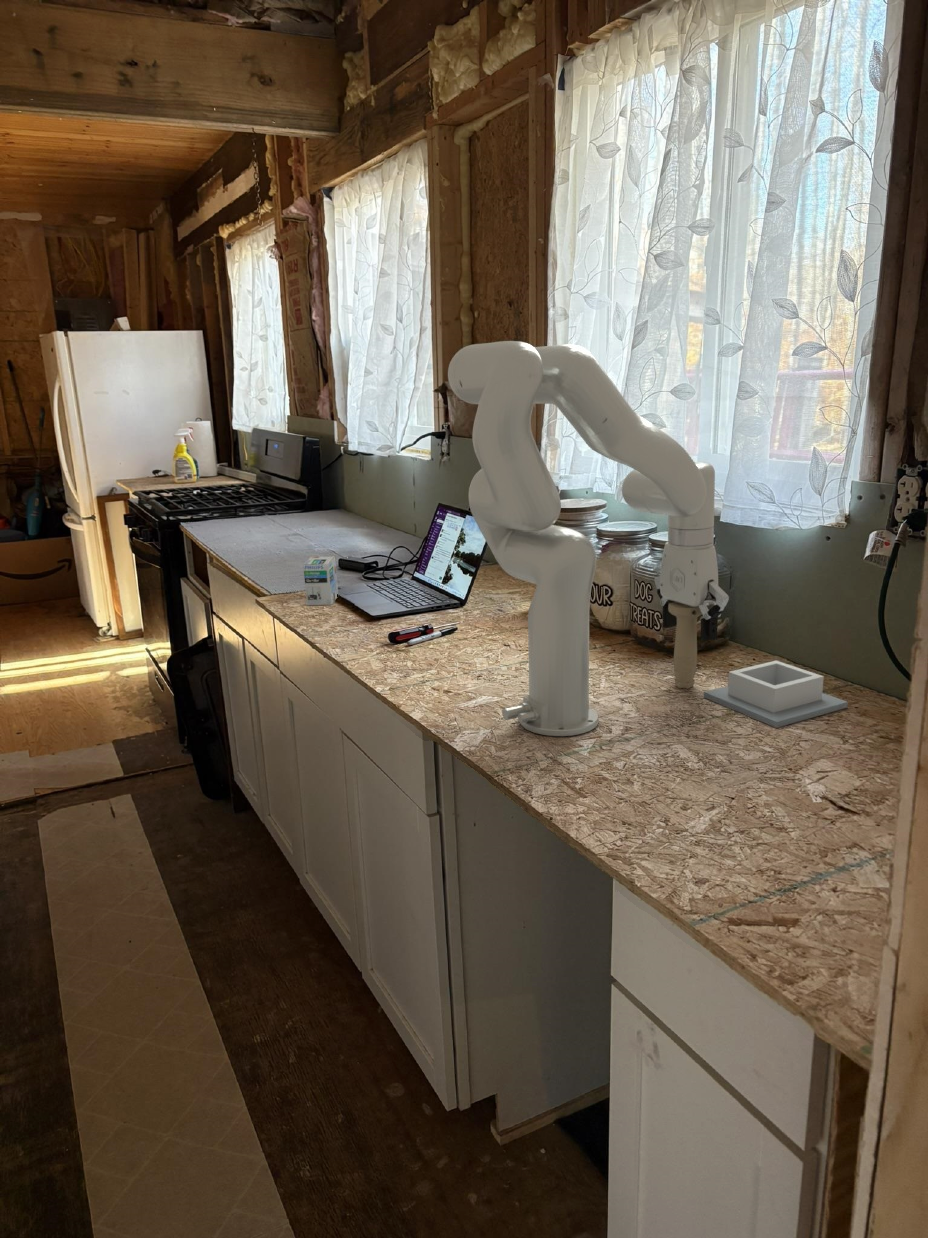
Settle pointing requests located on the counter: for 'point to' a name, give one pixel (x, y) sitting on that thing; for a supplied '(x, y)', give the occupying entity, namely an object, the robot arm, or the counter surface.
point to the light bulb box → (320, 580)
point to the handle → (685, 643)
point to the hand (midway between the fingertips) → (689, 632)
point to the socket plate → (776, 694)
